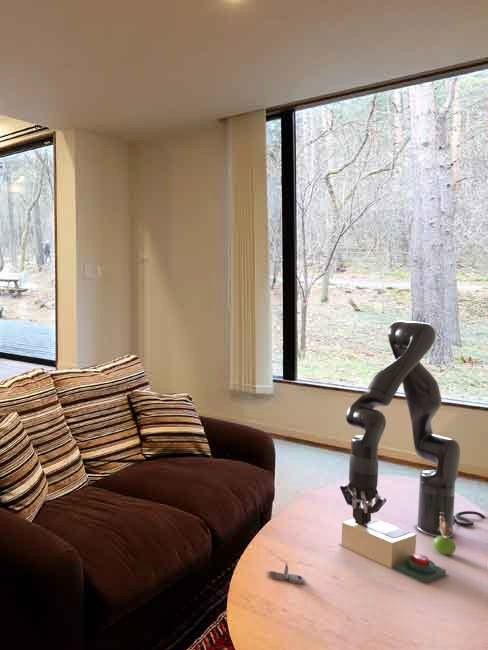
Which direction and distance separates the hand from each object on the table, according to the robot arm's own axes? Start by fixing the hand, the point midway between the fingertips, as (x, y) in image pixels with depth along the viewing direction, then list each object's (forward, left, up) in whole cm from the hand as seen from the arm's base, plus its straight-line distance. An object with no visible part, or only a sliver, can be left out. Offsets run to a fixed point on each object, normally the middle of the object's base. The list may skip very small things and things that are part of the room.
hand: (361, 521), depth 173 cm
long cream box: (-2, +4, -9) cm, 10 cm away
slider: (0, 0, -1) cm, 1 cm away
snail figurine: (-20, +13, -9) cm, 26 cm away
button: (-1, +16, -6) cm, 18 cm away
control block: (-1, +16, -9) cm, 19 cm away
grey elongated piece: (+37, +2, -9) cm, 38 cm away
